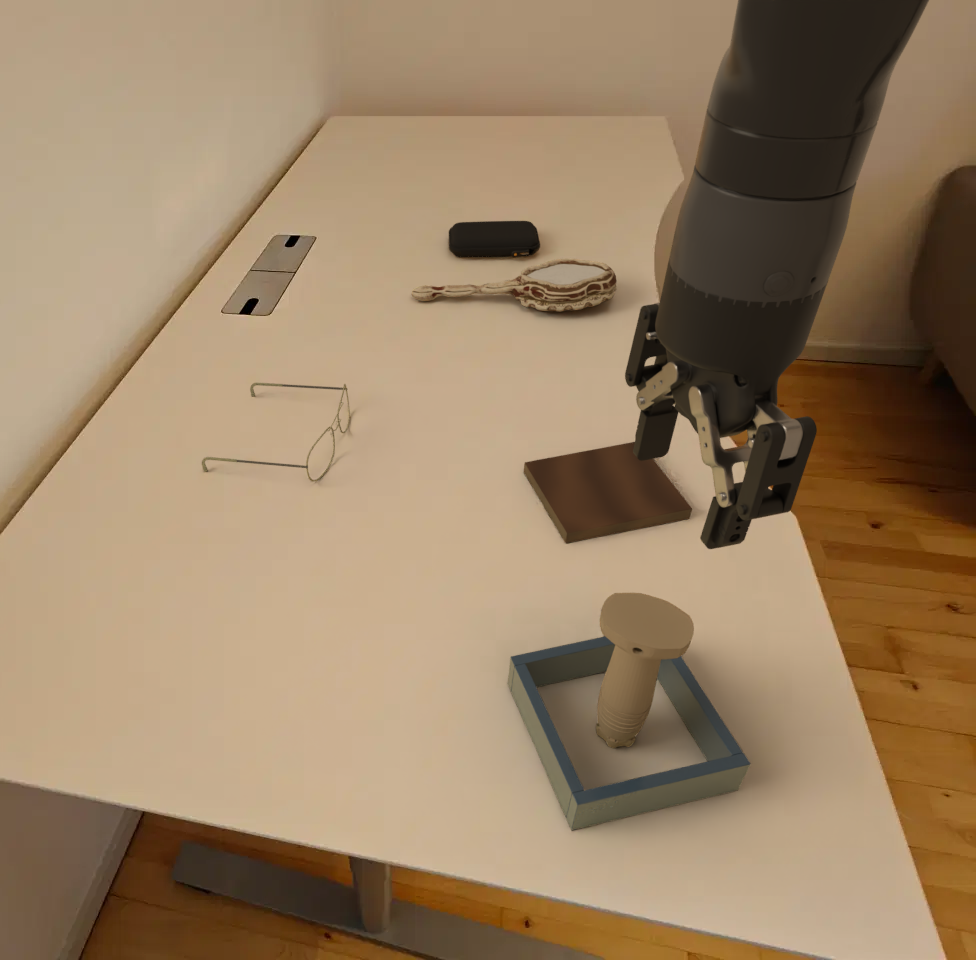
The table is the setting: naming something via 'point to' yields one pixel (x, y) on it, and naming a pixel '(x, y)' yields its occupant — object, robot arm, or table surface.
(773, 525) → the table surface
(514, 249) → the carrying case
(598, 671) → the blue square frame
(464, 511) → the table surface
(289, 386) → the eyeglasses
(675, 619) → the handle
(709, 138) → the robot arm
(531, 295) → the hand mirror
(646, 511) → the board
